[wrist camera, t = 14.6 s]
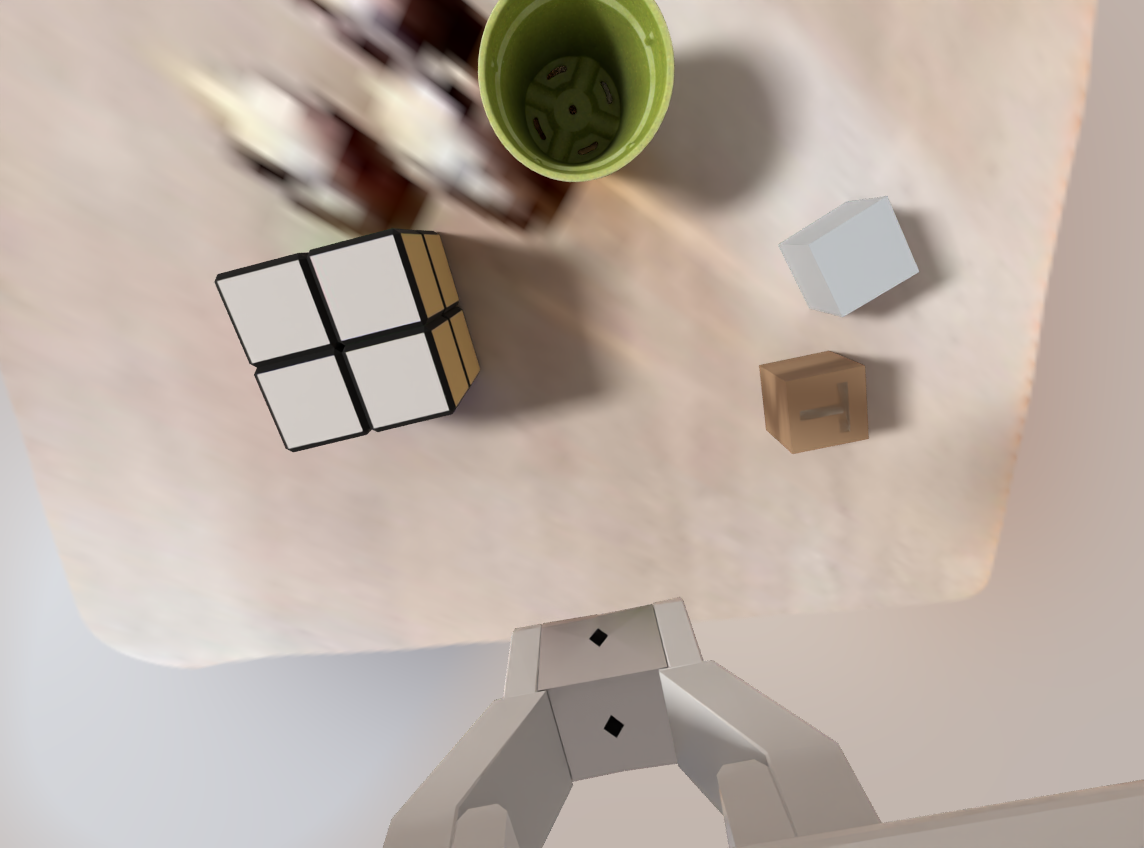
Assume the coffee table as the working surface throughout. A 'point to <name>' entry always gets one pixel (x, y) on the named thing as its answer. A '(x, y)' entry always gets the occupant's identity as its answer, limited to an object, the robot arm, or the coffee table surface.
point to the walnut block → (815, 401)
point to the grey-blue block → (849, 256)
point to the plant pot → (576, 82)
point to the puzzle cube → (353, 336)
